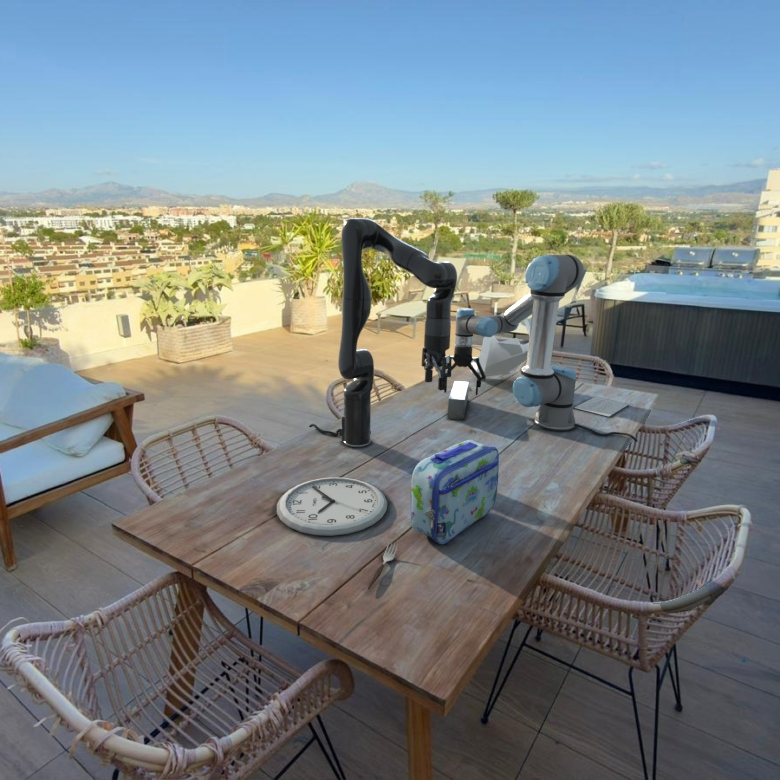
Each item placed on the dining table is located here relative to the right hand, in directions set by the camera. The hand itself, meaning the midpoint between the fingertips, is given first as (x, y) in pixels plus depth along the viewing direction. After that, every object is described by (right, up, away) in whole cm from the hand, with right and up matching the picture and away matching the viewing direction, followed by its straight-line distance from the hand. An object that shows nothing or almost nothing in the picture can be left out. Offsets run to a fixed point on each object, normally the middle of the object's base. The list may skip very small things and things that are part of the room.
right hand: (460, 393), depth 228 cm
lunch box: (-14, -33, -93) cm, 100 cm away
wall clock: (-47, -30, -85) cm, 102 cm away
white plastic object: (+27, +4, +28) cm, 39 cm away
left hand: (-17, +3, -71) cm, 73 cm away
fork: (-33, -39, -111) cm, 122 cm away
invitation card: (+61, -6, -2) cm, 61 cm away
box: (-2, -7, -7) cm, 10 cm away
